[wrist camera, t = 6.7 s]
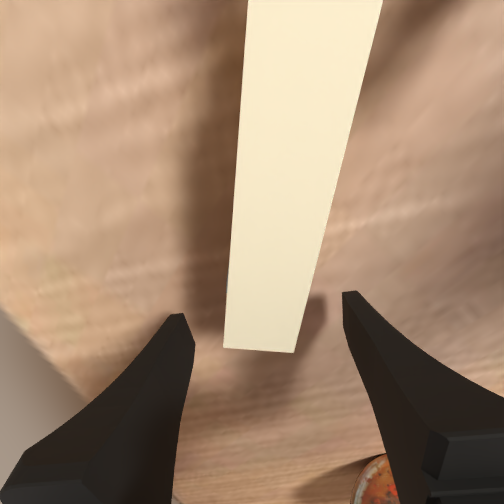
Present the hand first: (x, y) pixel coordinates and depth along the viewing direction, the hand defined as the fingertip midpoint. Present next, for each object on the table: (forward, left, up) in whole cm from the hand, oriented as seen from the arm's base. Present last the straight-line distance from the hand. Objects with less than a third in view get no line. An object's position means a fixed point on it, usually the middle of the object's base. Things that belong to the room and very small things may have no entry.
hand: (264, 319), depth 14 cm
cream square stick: (+1, -6, -2) cm, 6 cm away
